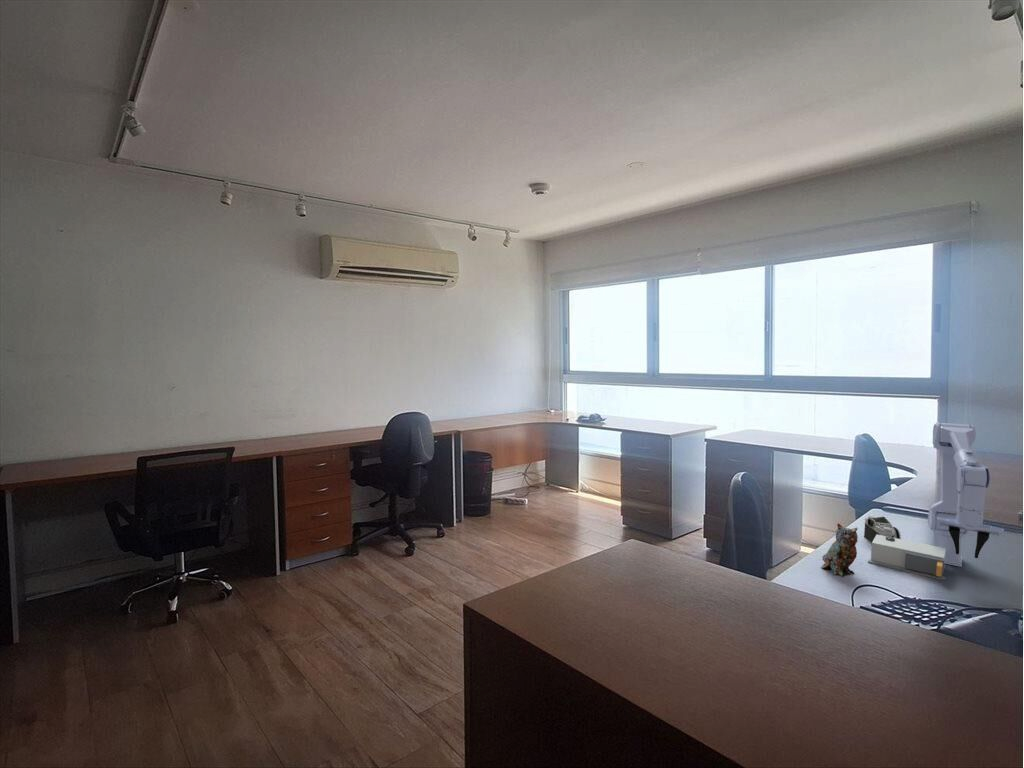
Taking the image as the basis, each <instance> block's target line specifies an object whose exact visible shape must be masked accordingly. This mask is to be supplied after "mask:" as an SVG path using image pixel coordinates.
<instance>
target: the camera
mask: <svg viewBox="0 0 1024 768" xmlns="http://www.w3.org/2000/svg"><path fill="white" fill-rule="evenodd" d="M863 533H864V534H863V539H864V540H865V541H867V542H868V543H869V542H870V543H869V544H870V545H872V542H873V540H874V538H875V536H876V535H882V536H887V537H892V538H897V539H901V538H902V537H901V536H902V535H901V533H900V530H899V529H898V528H897V527H894V526H893V525H892V523H891V522H890V521H889V520H888V519H887V518H886V517H885V516H877V517H874V516H872V515H869V516H868V517H866V518H865V520H864V532H863Z"/></svg>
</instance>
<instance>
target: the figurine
mask: <svg viewBox="0 0 1024 768" xmlns="http://www.w3.org/2000/svg"><path fill="white" fill-rule="evenodd" d="M836 526H837V528H836V530H835V541H834V542H832V544H831V545H830V547H829V548H828V550H827V552H826V553H825V554H824V555H822V557H821V558H822V561H823V562H824V564H822V565H821V566H820V569H822V570H826V571H829V572H830V571H831V572H833V575H834V576H839V577H841V578H842V577H845V576H846V577H847V576H850V575H854V574H855V571H853V570H851V569H850V566H851V565H853V563H854V562H855V559H856V558H857V554H858V551H857V547H856V545H857V543H858V532H857V531H858V527H853V528H848V527H844V526H843V525H842V524H840V523H839V522H838V523H837V524H836Z"/></svg>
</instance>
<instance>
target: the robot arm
mask: <svg viewBox="0 0 1024 768" xmlns="http://www.w3.org/2000/svg"><path fill="white" fill-rule="evenodd" d="M976 437H977V432H976V428H975V426H974V425H973V424H972V423H971V424H969V423H968V424H963V423H962V424H961V423H946V422H939V421H938V422H937V421H936V422H935V423H934V424H933V428H932V445H933V448H934V449H936V450H938V451H939V455H940V473H939V474H940V479H939V480H940V483H939V484H940V489H939V493H940V495H939V497H940V498H939V499H940V500H939V501H937V502H935V503H933V504H931V505H930V507H928V509H929V510H928V515H927V524H928V528H929V529H930V531H933V535H932V546H937V547H942V548H946V555H945V564H946V565H951V566H955V567H962V566H963V556H962V546H963V538H965V536H967V535H968V534H969V533H970V531H971V532H976V533H977V535H976V536H977V537H976V545H975V550H974V558H975V559H979V555H980V553H981V550H982V549H983V547H984V545H985V543H987V541H988V540H989V539H990V535H993V536H997V537H1000V538H1001V537H1002V538H1004V534H1005V533H1004V532H1005V529H1004V528H1002V527H998V526H994V525H993V526H992V525H989V524H984V513H985V501H986V489H988V488H989V486H990V484H991V471H990V469H989V467H988V466H986V465H983V463H982V461H981V459H980V457H979V454H978V453H977V452H976V451H975V450H972V445H973V443H974V442H975V441H976ZM951 512H952V513H951Z"/></svg>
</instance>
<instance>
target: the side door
mask: <svg viewBox="0 0 1024 768" xmlns="http://www.w3.org/2000/svg"><path fill="white" fill-rule="evenodd" d="M905 568H908V569H912V570H916V571H921V572H925V573H930V574H934V575H936V576H940V577H941V576H943V577H944V573H943V572H945V567H944V560H942V559H937V558H932V557H928V556H923V555H918V554H913V553H909V552H906V557H905Z"/></svg>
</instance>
